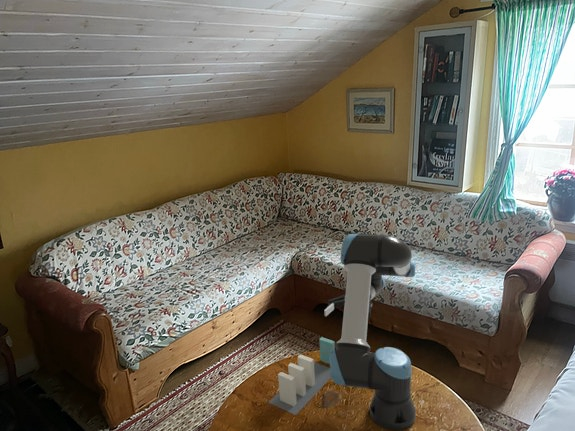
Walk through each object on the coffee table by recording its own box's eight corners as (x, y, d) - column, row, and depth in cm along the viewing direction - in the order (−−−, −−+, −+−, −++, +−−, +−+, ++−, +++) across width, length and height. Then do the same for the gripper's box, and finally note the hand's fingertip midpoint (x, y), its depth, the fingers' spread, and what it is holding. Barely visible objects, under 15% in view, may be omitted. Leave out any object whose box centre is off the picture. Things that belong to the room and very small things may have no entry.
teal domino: (335, 365, 184) (334, 341, 180) (333, 367, 183) (332, 343, 179) (322, 360, 187) (321, 337, 184) (320, 362, 186) (319, 339, 183)
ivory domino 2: (306, 393, 168) (304, 368, 164) (303, 396, 166) (301, 370, 163) (292, 387, 171) (290, 362, 168) (289, 390, 170) (288, 365, 166)
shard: (322, 416, 159) (322, 411, 158) (308, 404, 165) (307, 400, 164) (345, 401, 165) (345, 397, 164) (330, 390, 171) (330, 386, 170)
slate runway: (337, 372, 179) (337, 370, 179) (295, 417, 158) (295, 415, 158) (311, 363, 186) (311, 360, 186) (268, 404, 165) (268, 402, 165)
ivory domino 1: (296, 403, 163) (294, 377, 160) (293, 406, 162) (291, 380, 158) (283, 397, 167) (281, 371, 163) (280, 400, 165) (277, 374, 162)
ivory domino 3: (315, 384, 172) (313, 359, 169) (312, 387, 171) (311, 361, 168) (301, 378, 176) (300, 354, 172) (299, 381, 174) (297, 356, 171)
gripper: (389, 309, 198) (367, 334, 182) (339, 295, 212) (314, 317, 197) (389, 294, 196) (366, 317, 180) (338, 281, 210) (313, 301, 194)
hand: (339, 317), depth 188 cm, fingers open, 13 cm apart
